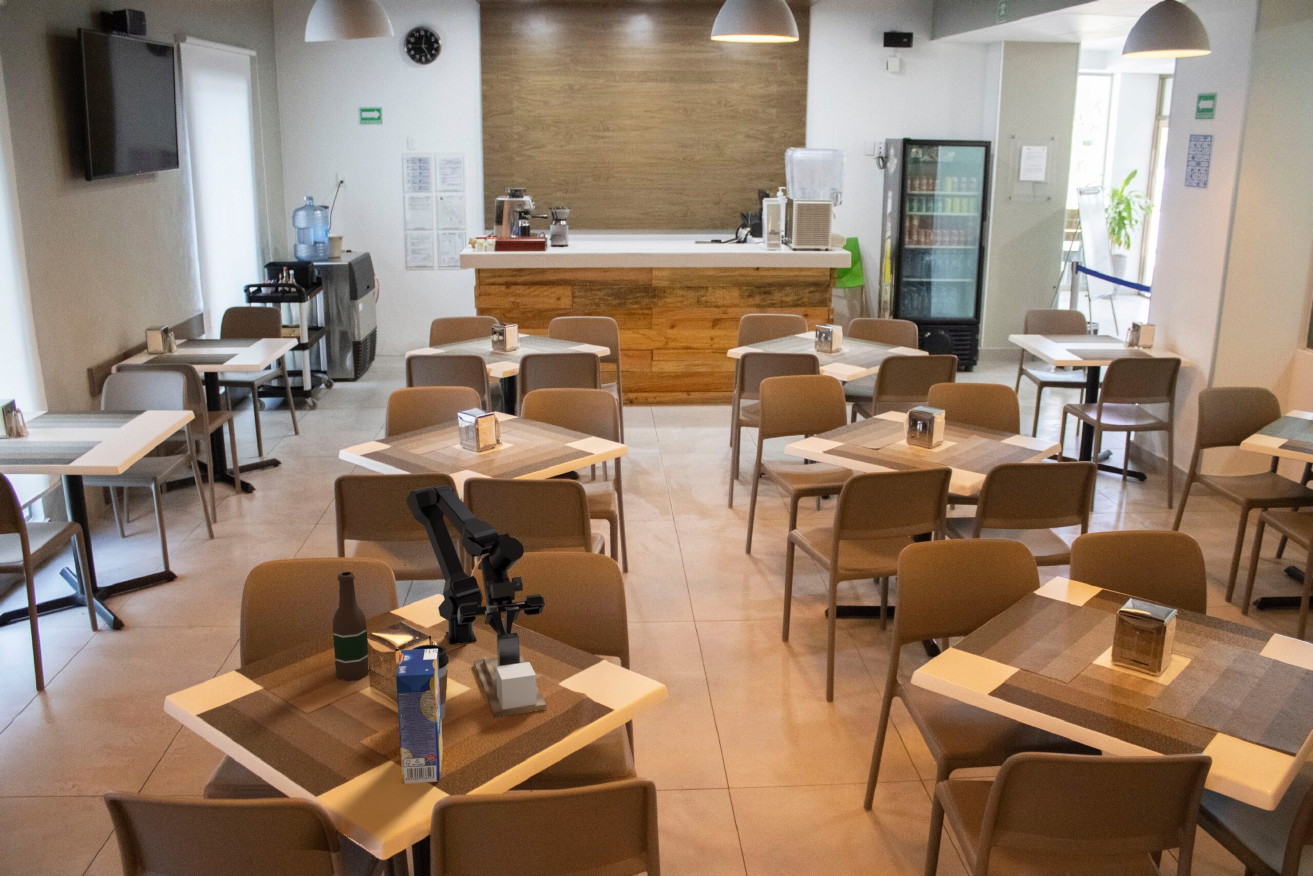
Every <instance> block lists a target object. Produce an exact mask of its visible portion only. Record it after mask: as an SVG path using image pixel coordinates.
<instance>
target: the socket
mask: <svg viewBox="0 0 1313 876" xmlns="http://www.w3.org/2000/svg"><path fill="white" fill-rule="evenodd" d="M496 680H497V697H498V699H499V702H500V704H501V706H502V709H509V708H515V707H522V706H528V705H535V704H537V702H536V685H537V675H536V672H535V670H534V668H533V666H532V664H531V663H530V661H525V663H518V664H511V665H504V666H497V667H496Z"/></svg>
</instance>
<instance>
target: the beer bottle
mask: <svg viewBox="0 0 1313 876" xmlns="http://www.w3.org/2000/svg"><path fill="white" fill-rule="evenodd" d="M354 580H355V574H354V572H353V571H342V572H340V573H339V574H338V575H337V581H338V582H339V588H338V589H339V600H338V601H339V604H338V608H337V609H336V611H335V612H334V615H333V619H332V636H333V637H332V638H333V650H334V651H333V652H334V662H335V663H334V664H335V674H336V678H337V679H339V680H342V681H347V682H350V681H357V680H361V679H363V678H365V677H367V676H368V675H369V674H370V668H369V669H368V656H369V645H368V644H369V642H368V629H367V620H366V616H365V613H364V612H363V610H362V608H360V606H359V605H358V602H357V598H356V591H355V590H356V589H355V581H354ZM368 673H369V674H368Z"/></svg>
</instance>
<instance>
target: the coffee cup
mask: <svg viewBox="0 0 1313 876" xmlns="http://www.w3.org/2000/svg"><path fill="white" fill-rule="evenodd" d="M433 648H438V660H439V681H440V702H441V721H443V720H444V719H445V717H446V703H447V702H446V701H447V689H448V687H447V686H448V674H449V673H448V667H447V666H448V664H449V662H450V661H449V660H450V659H449V655H448V654H447V648H446V647H444V646H442V645H438V644H437V645H436V644H422V645H419V646H415V647H413V648H411V650H413V649H433Z"/></svg>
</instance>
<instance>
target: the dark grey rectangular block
mask: <svg viewBox="0 0 1313 876" xmlns="http://www.w3.org/2000/svg"><path fill="white" fill-rule="evenodd" d="M496 648H497V651H496V652H497V658H498V666H504V665H511V664H518V663H520V654H521V653H520V652H521V651H520V636H519V634H518V632H511V633H510V634H502V635H498V634H496Z"/></svg>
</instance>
